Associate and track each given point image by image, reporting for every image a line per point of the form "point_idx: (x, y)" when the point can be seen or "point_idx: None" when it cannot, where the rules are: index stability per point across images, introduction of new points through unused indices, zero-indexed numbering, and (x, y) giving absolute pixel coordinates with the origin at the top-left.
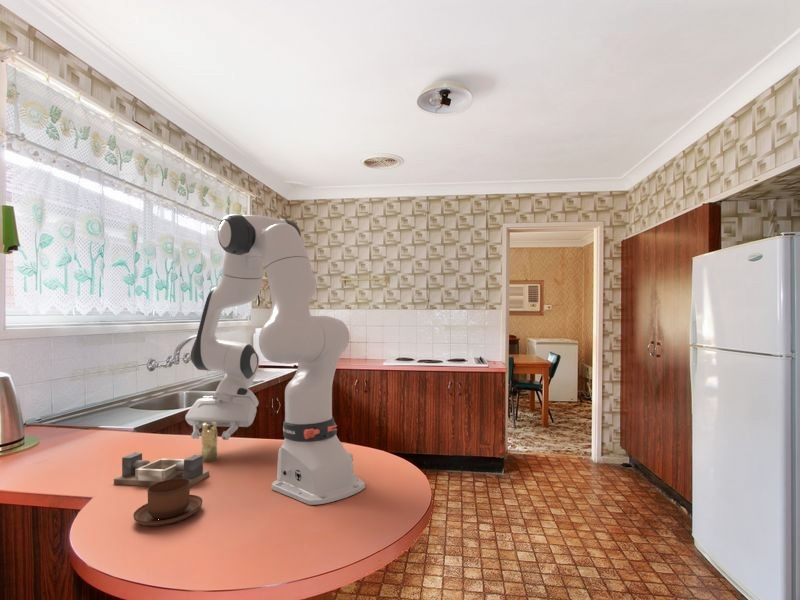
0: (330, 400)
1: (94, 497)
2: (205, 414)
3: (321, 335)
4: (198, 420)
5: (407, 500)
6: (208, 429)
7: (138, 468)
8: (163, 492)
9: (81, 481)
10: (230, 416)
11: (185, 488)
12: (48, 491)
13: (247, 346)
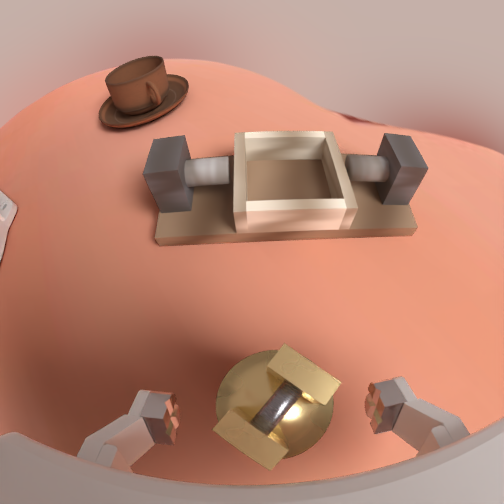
0: None
1: (345, 120)
2: (426, 499)
3: None
4: (446, 446)
5: None
6: (308, 432)
7: (332, 137)
8: (130, 61)
9: (461, 177)
10: (98, 493)
11: (108, 78)
12: (450, 141)
13: None
